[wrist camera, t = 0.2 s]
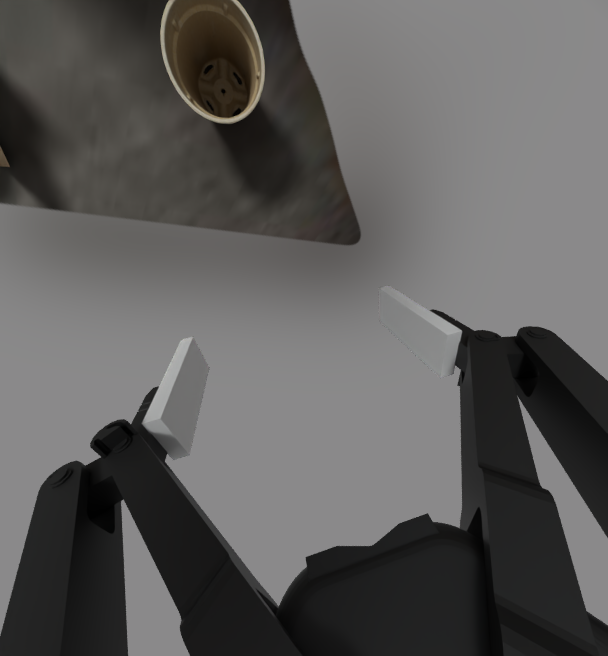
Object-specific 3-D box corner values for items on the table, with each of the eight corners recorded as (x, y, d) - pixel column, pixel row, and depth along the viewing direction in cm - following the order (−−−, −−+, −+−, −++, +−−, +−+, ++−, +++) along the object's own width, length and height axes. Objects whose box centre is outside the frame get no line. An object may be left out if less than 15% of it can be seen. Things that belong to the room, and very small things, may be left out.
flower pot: (243, 156, 33) (242, 144, 26) (173, 108, 29) (148, 78, 22) (272, 79, 30) (280, 40, 23) (197, 15, 26) (178, -57, 19)
